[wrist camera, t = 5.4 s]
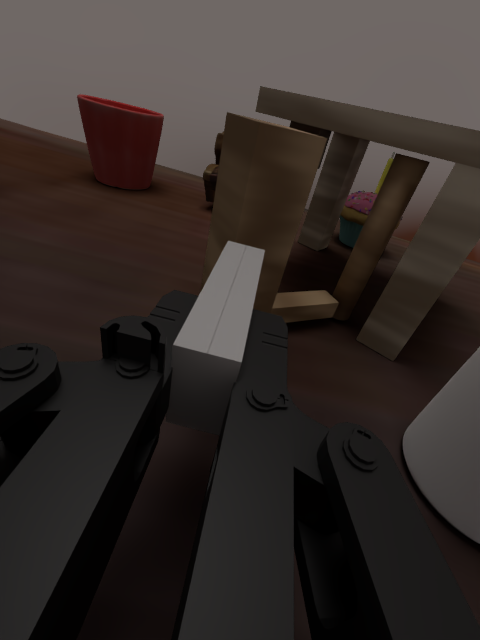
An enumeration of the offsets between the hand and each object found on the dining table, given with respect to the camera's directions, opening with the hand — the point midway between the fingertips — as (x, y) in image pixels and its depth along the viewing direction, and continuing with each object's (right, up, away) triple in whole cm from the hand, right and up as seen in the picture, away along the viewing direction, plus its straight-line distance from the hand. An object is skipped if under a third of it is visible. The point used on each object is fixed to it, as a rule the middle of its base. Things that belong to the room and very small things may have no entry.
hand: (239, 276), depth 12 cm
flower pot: (-18, +19, +32) cm, 41 cm away
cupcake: (+17, +9, +31) cm, 37 cm away
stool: (+10, +2, +19) cm, 22 cm away
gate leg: (+3, -2, +10) cm, 11 cm away
